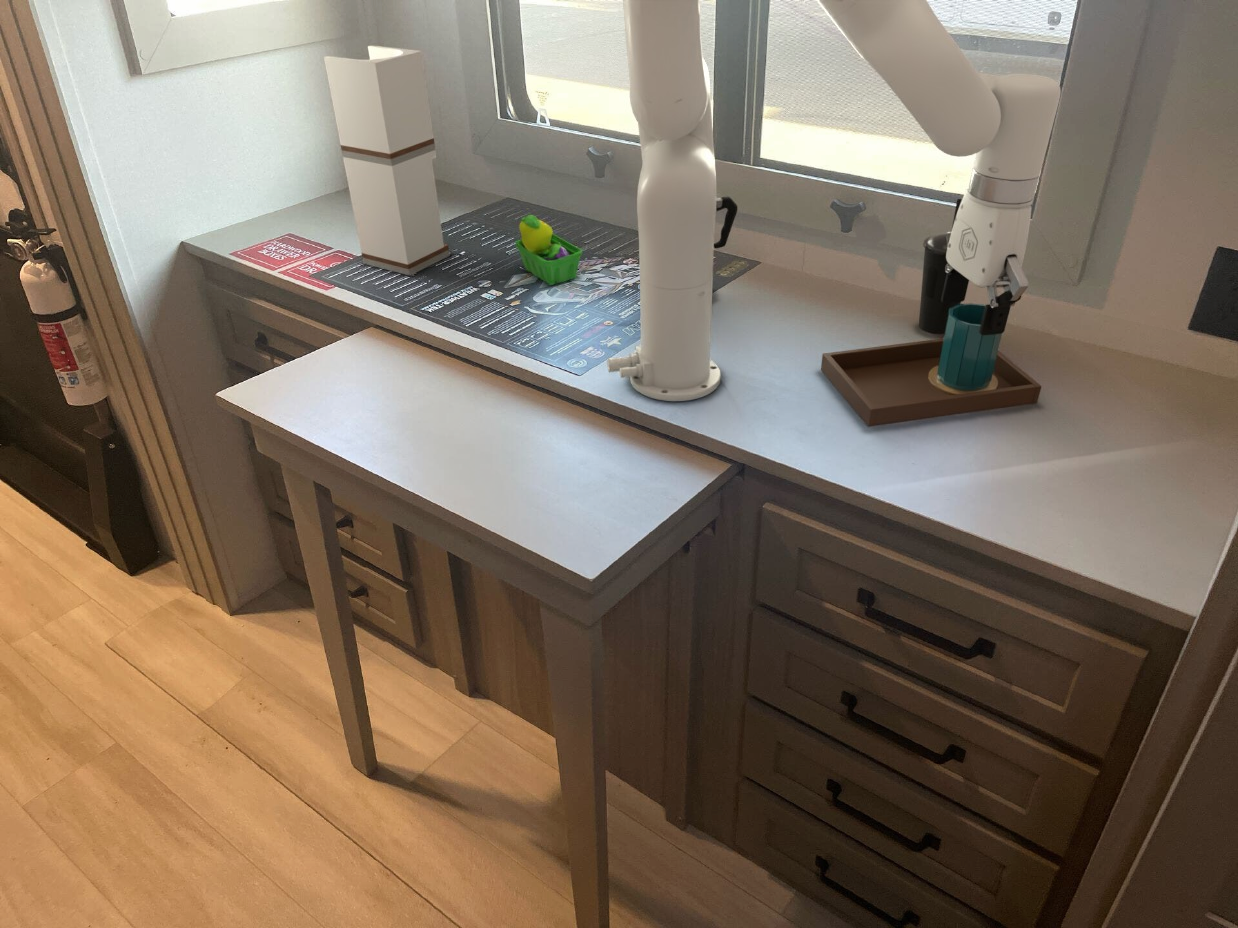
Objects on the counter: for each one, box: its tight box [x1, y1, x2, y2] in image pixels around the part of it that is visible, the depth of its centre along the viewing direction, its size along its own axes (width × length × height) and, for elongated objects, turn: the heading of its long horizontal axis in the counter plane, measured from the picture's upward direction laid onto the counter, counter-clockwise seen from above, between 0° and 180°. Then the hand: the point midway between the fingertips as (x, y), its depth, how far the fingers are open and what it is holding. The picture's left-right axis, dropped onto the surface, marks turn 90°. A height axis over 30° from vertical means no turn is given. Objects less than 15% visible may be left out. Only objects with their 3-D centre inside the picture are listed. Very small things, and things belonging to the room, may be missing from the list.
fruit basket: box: [514, 214, 583, 286], centre depth 157 cm, size 11×9×11 cm
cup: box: [937, 302, 1003, 391], centre depth 122 cm, size 7×7×10 cm
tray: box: [820, 337, 1043, 428], centre depth 123 cm, size 24×16×3 cm, turn 102°
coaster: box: [928, 366, 998, 395], centre depth 125 cm, size 9×9×1 cm
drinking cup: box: [918, 198, 963, 335], centre depth 133 cm, size 8×8×20 cm
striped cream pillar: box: [323, 45, 451, 276], centre depth 158 cm, size 11×11×35 cm
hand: (971, 317), depth 120 cm, fingers open, 9 cm apart
